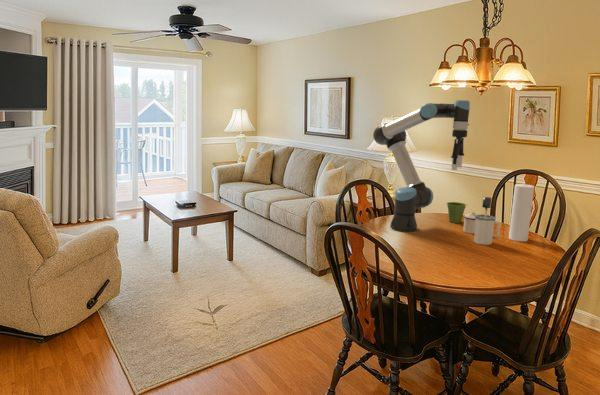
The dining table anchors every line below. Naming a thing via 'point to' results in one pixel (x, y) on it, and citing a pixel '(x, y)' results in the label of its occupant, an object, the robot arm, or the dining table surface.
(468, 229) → the teacup with lid
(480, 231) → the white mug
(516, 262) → the dining table surface
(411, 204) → the robot arm
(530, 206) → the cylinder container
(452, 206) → the plant pot
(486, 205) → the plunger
